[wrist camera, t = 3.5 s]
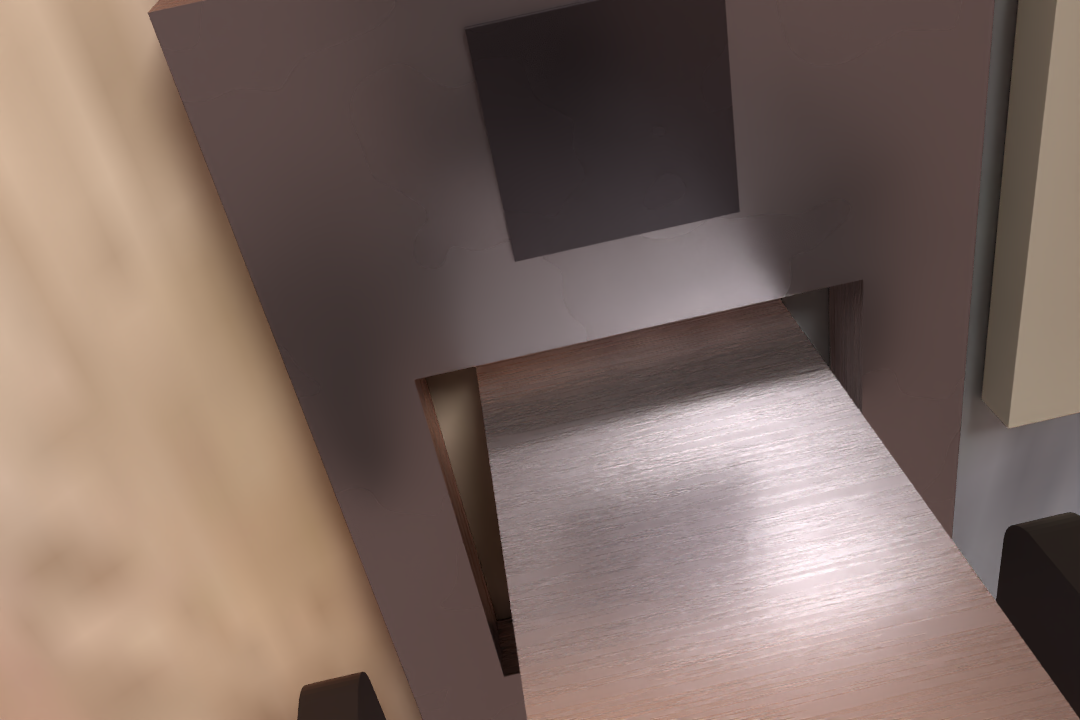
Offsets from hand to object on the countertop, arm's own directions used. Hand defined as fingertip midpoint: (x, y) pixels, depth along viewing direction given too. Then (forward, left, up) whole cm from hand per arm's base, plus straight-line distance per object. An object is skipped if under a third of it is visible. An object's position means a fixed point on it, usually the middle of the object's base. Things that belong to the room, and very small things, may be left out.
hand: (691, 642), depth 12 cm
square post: (0, 0, -4) cm, 4 cm away
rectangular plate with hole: (0, 0, -4) cm, 4 cm away
